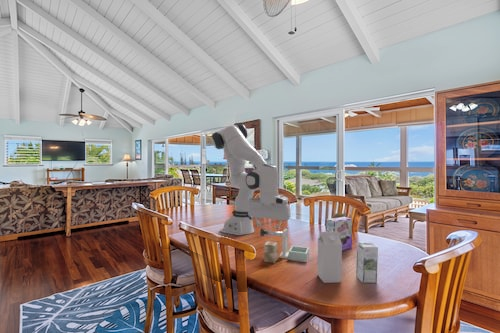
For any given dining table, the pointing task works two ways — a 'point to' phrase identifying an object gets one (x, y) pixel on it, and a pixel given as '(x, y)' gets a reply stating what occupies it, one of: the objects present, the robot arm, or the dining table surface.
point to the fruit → (338, 215)
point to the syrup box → (367, 262)
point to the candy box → (341, 230)
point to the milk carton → (329, 257)
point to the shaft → (270, 233)
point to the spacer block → (270, 251)
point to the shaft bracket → (293, 250)
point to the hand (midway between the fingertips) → (268, 227)
